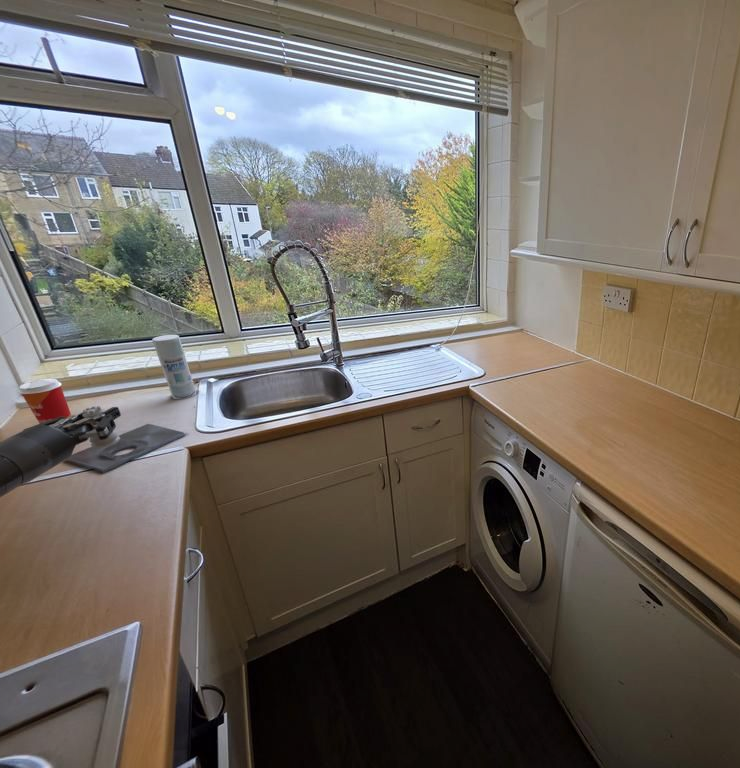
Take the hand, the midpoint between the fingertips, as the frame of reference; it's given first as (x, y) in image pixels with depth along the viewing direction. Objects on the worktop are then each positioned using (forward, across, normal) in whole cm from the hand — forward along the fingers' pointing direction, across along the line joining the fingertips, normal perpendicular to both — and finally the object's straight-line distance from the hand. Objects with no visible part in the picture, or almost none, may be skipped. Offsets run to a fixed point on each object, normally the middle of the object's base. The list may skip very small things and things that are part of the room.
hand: (106, 411), depth 84 cm
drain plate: (+14, +11, +18) cm, 25 cm away
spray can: (+47, +17, +18) cm, 53 cm away
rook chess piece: (-3, 0, +6) cm, 7 cm away
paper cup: (+26, +36, +18) cm, 48 cm away
